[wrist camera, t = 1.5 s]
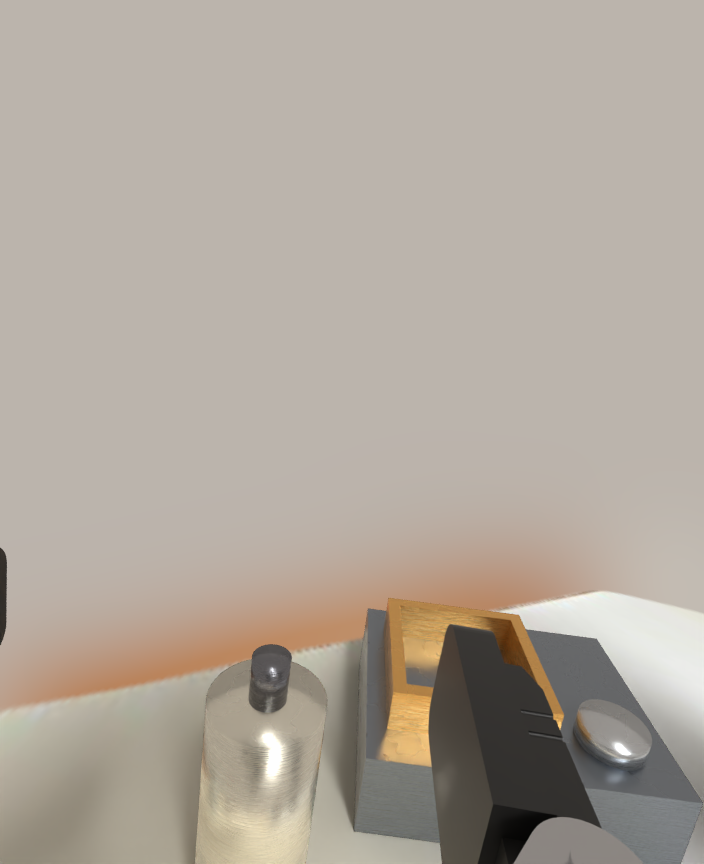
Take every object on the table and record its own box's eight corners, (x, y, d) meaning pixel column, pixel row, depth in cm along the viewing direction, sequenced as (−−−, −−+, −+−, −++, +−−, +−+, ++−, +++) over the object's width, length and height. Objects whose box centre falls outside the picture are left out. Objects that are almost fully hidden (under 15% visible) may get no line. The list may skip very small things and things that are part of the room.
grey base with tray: (581, 692, 43) (604, 610, 41) (676, 874, 30) (716, 765, 28) (359, 662, 43) (372, 580, 41) (354, 830, 30) (372, 719, 28)
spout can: (304, 862, 28) (336, 628, 24) (290, 981, 23) (327, 711, 20) (209, 849, 28) (227, 613, 24) (175, 966, 23) (191, 693, 20)
